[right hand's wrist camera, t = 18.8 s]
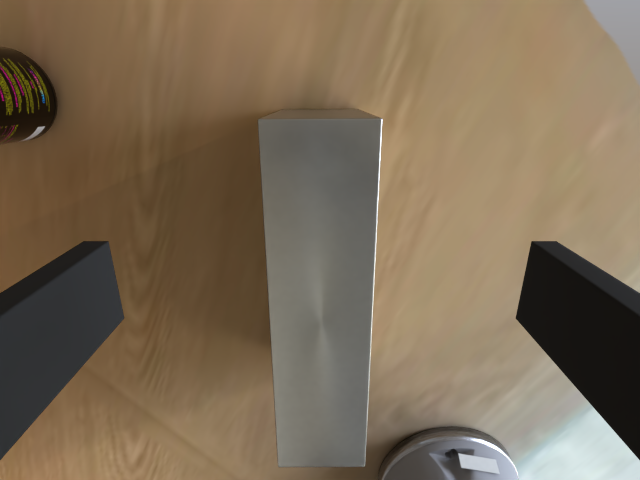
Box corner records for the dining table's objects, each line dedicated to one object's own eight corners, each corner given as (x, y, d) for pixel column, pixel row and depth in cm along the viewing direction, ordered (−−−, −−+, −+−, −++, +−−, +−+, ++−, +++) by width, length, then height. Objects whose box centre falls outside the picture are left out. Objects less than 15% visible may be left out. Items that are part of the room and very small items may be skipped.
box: (281, 109, 30) (257, 118, 19) (358, 109, 30) (382, 118, 19) (290, 355, 39) (277, 467, 27) (351, 355, 39) (365, 467, 27)
